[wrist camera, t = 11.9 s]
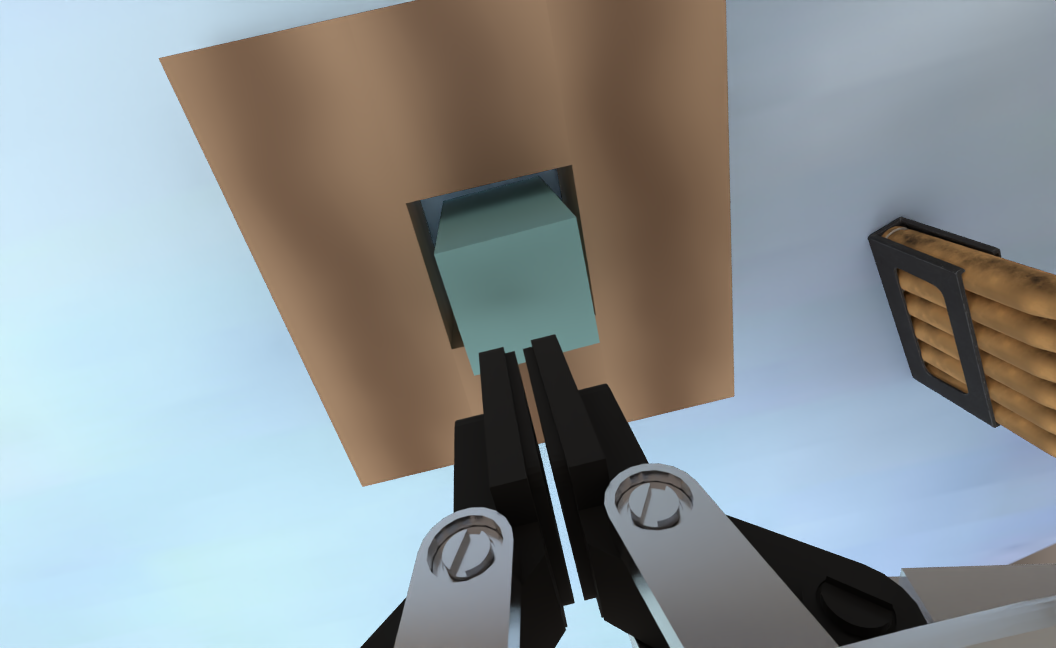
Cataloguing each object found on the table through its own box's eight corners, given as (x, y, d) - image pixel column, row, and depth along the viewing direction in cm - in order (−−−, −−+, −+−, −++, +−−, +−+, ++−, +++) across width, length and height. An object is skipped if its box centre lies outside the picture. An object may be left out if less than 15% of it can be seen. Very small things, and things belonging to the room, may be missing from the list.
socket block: (675, -39, 19) (724, -70, 16) (698, 355, 27) (734, 396, 23) (217, 64, 19) (158, 58, 15) (376, 433, 27) (362, 486, 23)
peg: (539, 176, 22) (576, 217, 15) (558, 266, 24) (600, 342, 17) (443, 201, 22) (433, 254, 15) (470, 290, 24) (474, 375, 17)
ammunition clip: (942, 363, 29) (1221, 520, 19) (913, 379, 30) (1170, 544, 19) (901, 215, 25) (1235, 310, 14) (866, 236, 25) (1169, 344, 14)
